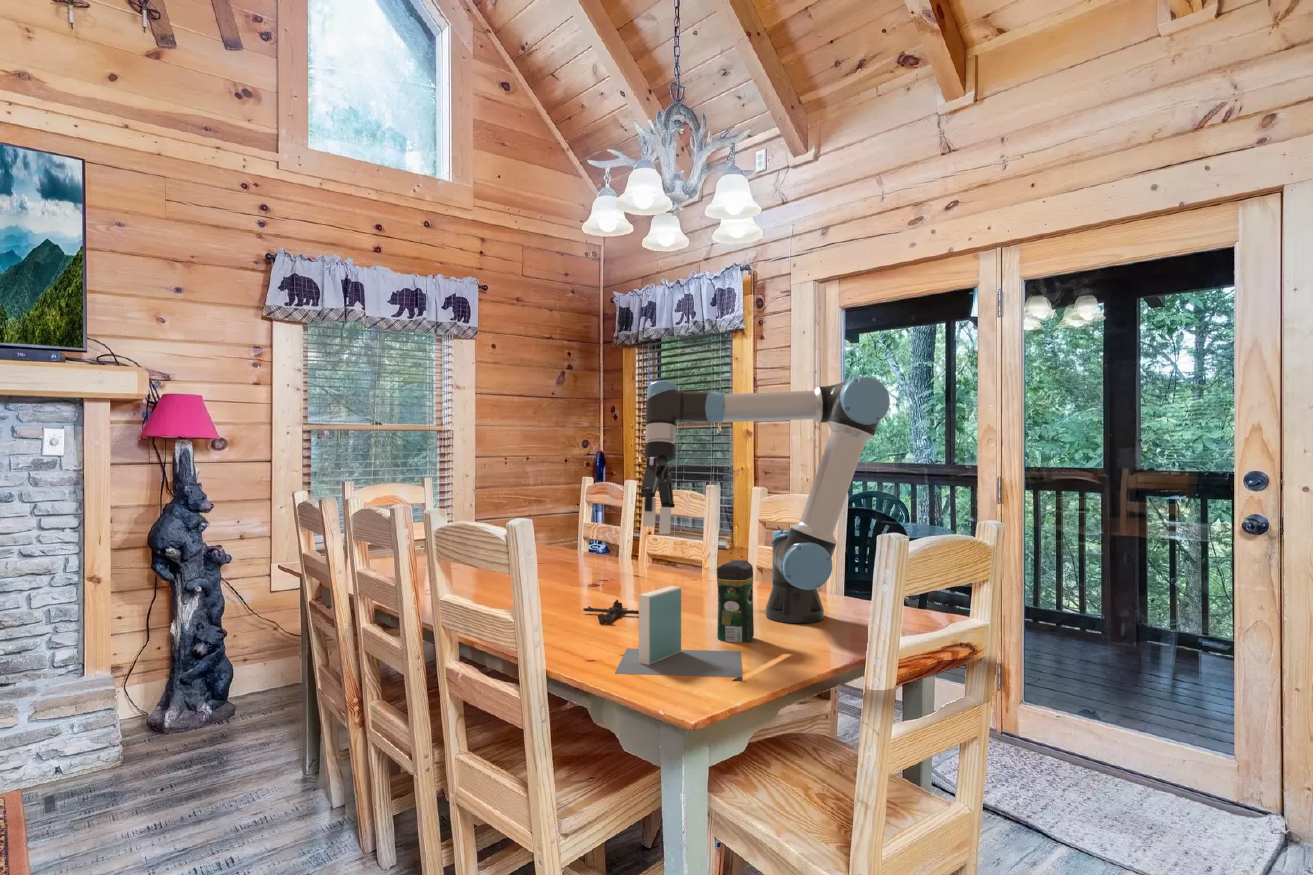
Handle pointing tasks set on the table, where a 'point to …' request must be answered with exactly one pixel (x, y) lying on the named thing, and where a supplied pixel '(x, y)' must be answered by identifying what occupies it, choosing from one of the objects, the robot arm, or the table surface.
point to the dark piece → (610, 612)
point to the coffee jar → (735, 601)
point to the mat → (686, 664)
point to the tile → (659, 624)
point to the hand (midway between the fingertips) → (657, 530)
